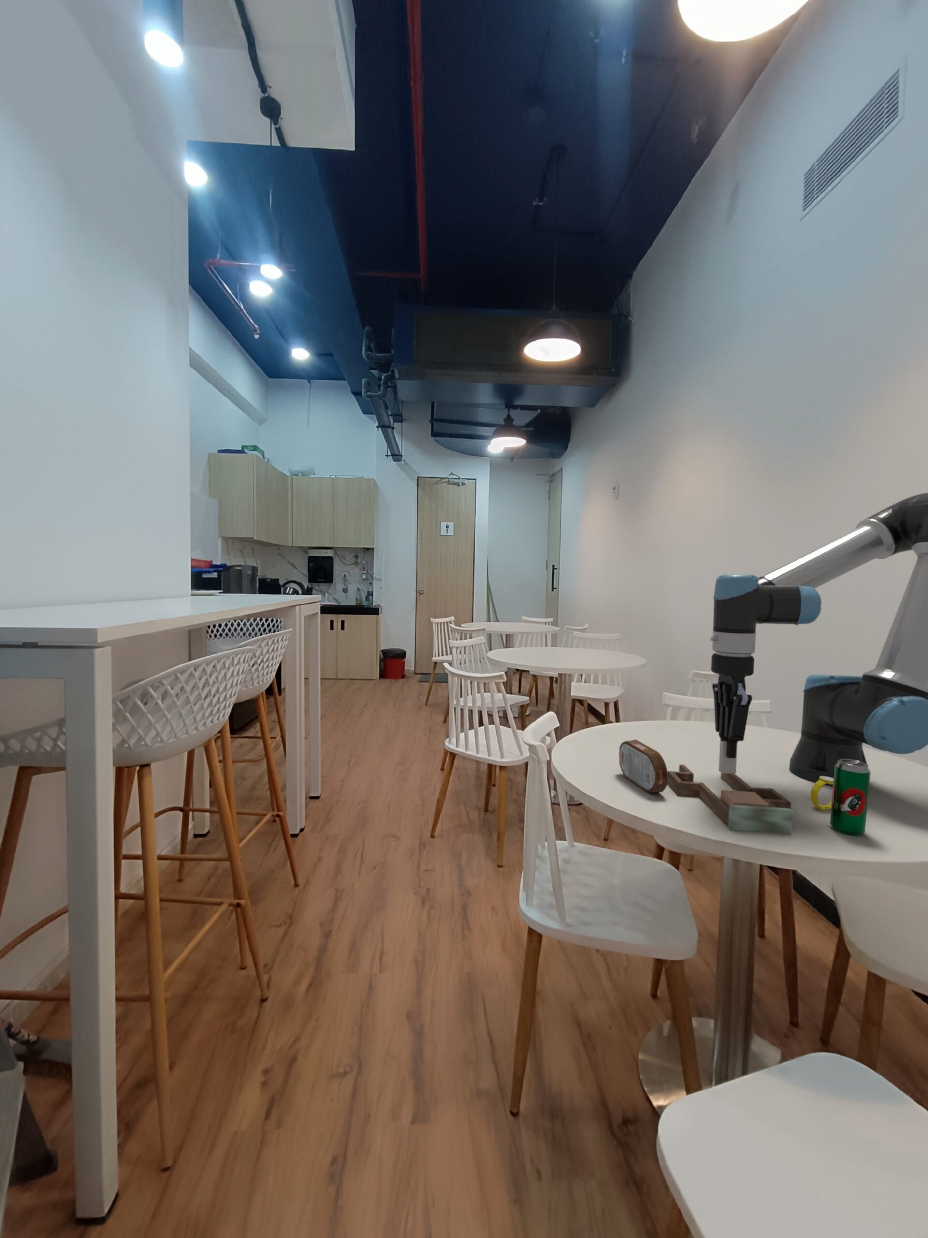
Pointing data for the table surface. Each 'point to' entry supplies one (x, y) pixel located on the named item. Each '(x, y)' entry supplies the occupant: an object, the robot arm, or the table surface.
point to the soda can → (850, 797)
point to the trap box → (737, 816)
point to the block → (742, 798)
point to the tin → (643, 766)
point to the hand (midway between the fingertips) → (727, 772)
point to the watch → (816, 789)
